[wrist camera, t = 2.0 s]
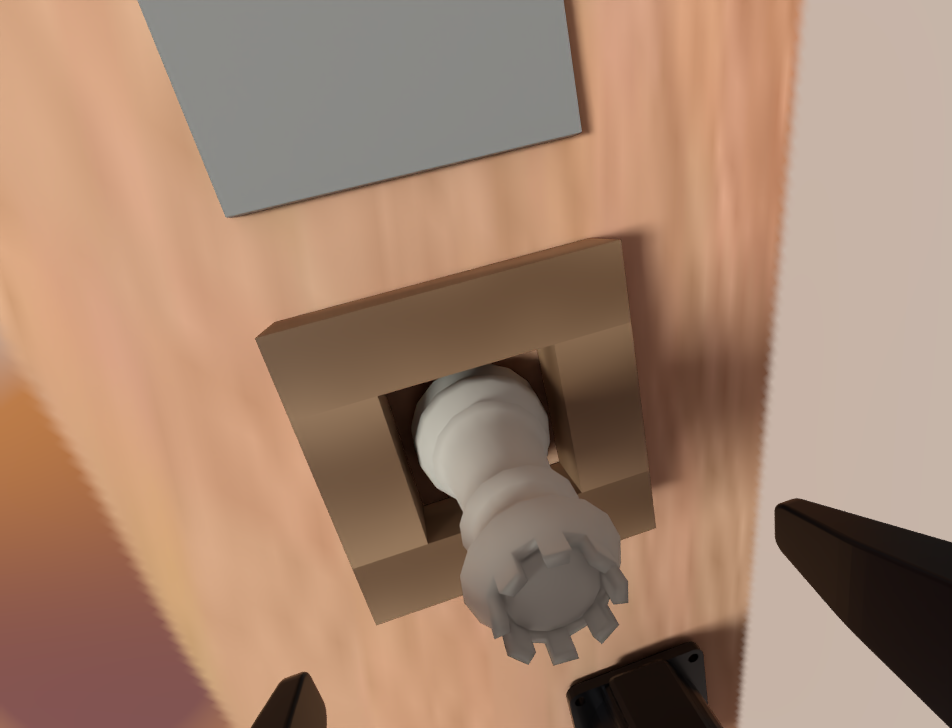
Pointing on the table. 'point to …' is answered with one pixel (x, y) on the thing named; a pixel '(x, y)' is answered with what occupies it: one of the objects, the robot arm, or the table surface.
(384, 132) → the slate mat
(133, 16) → the table surface
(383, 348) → the socket block
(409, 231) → the table surface
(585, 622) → the rook chess piece
